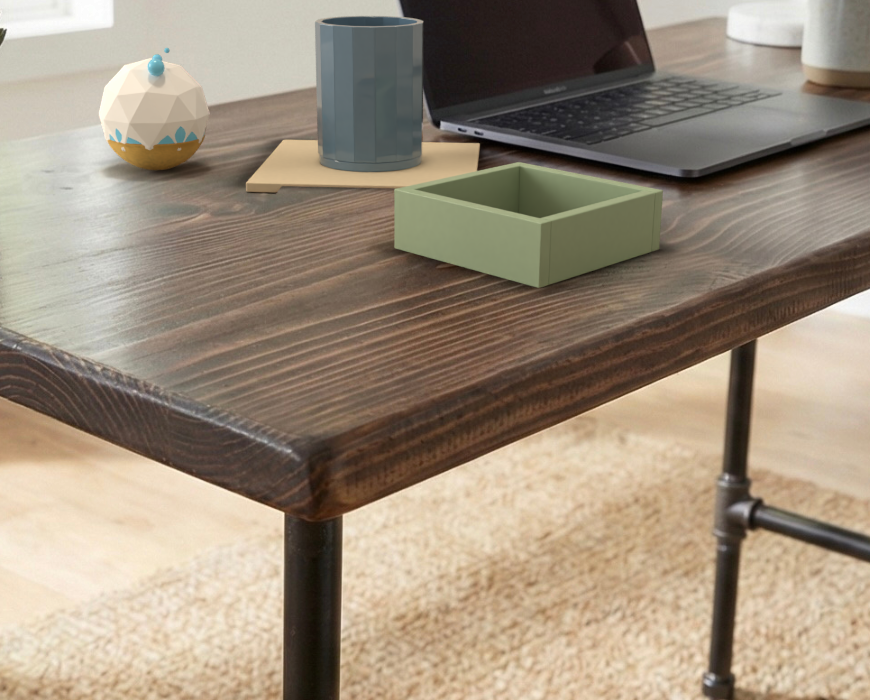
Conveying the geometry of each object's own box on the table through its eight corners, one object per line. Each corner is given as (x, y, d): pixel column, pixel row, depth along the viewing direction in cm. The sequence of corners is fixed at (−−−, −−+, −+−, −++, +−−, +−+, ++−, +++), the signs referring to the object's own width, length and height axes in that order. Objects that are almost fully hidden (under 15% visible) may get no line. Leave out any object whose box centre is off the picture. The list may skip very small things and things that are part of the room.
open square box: (516, 223, 73) (518, 161, 72) (658, 257, 67) (663, 190, 65) (394, 256, 66) (393, 188, 65) (538, 296, 60) (541, 223, 59)
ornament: (84, 167, 86) (73, 44, 83) (180, 154, 90) (173, 36, 87) (133, 185, 81) (123, 55, 78) (232, 170, 85) (226, 46, 82)
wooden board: (479, 151, 92) (480, 143, 92) (474, 196, 79) (474, 187, 79) (283, 147, 93) (283, 139, 92) (246, 192, 79) (245, 182, 79)
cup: (425, 152, 89) (426, 16, 85) (418, 173, 82) (419, 27, 79) (326, 150, 89) (323, 15, 86) (311, 171, 82) (308, 25, 79)
